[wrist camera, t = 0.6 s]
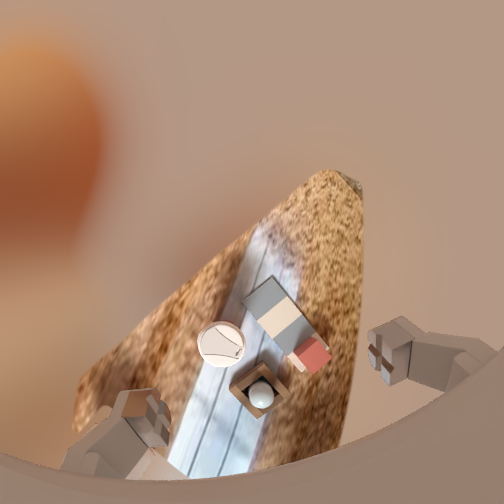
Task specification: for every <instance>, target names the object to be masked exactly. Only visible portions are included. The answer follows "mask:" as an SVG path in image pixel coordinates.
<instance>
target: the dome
mask: <svg viewBox="0 0 504 504" xmlns="http://www.w3.org/2000/svg"><path fill="white" fill-rule="evenodd" d="M248 393H249V399H250V402H251V404H252V405H253V406H255V407H257V408H267V407H269V406H270V405H271V404H272V403H273V400H274V393H273V391H272V388H271V386H270V384H269V383H268V382H266V381H264V380H257V381H254V382H253V383H252V384H250V386H249V388H248Z"/></svg>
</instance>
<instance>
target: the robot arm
mask: <svg viewBox="0 0 504 504" xmlns="http://www.w3.org/2000/svg"><path fill="white" fill-rule="evenodd" d="M368 340H369V341H370V342H371V344H370V346H369V348H368V356H369V360H370V362H371V364H372V366H373V368H374V369H375V370H378V371H381V377H382V379H383V380H384V381H385V382H386V383H387V385H388V386H391V385H394V384H396V383H398V382H400V381H402V380H404V379H406V378H408V379H410V380H413V381H415V382H418V383H421V384H423V385H426V386H429V387H432V388H434V389H437V390H440V391H443V392H445V393H444V394H443V395H441V396H439V397H438V398H436V399H435V400H433V401H432V402H430V403H428V404H427V405H425V406H423V407H422V408H420V409H418V410H417V411H415V412H413V413H411V414H410V415H408V416H406V417H404V418H402V419H401V420H399V421H397V422H395V423H393V424H391V425H389V426H387V427H385V428H383V429H380V430H378V431H376V432H374V433H372V434H370V435H367V436H365V437H363V438H361V439H358V440H356V441H353V442H351V443H348V444H346V445H343V446H341V447H338V448H335V449H333V450H330V451H327V452H324V453H321V454H318V455H315V456H312V457H309V458H305V459H302V460H299V461H295V462H291V463H288V464H284V465H280V466H276V467H272V468H267V469H262V470H258V471H253V472H247V473H241V474H235V475H228V476H221V477H212V478H202V479H189V480H165V481H164V480H129V479H125V478H126V477H127V476H128V475H129V473H130V472H131V471H132V469H133V468H134V467H135V466H136V464H137V463H138V462H139V460H140V459H141V458H142V457H143V455H144V454H145V453H146V451H147V450H148V448H152V447H165V446H168V443H169V435H170V433H169V432H168V430H167V429H168V427H169V426H170V425H171V413H170V410H169V408H168V406H167V404H166V403H165V402H163V401H162V400H160V397H161V394H160V393H159V391H158V389H156V388H146V389H135V390H125V391H121V392H119V394H118V396H117V399H116V401H115V404H114V407H113V409H112V412H111V414H110V417H109V418H107V419H105V420H104V421H102V422H101V423H100V424H99V425H97V426H96V427H95V428H94V429H92V430H91V431H90V432H89V433H88V434H86V435H85V436H84V437H83V438H81V439H80V440H79V441H78V442H76V443H75V444H74V445H73V446H72V447H70V448H69V449H68V451H67V454H66V456H65V459H64V461H63V464H62V466H61V469H60V470H58V469H54V468H50V467H46V466H42V465H39V464H35V463H32V462H29V461H25V460H22V459H19V458H17V457H13V456H11V455H8V454H5V453H0V504H504V346H503V347H502V348H501V349H500V350H499V351H498V352H497V351H495V350H494V349H493V348H491V347H490V346H489V345H487V344H486V343H484V342H483V341H481V340H480V339H477V338H468V337H461V336H453V335H446V334H439V333H432V332H428V333H425V332H423V331H422V330H421V329H419V328H418V327H417V326H416V325H414V324H413V323H412V322H410V321H409V320H408V319H406V318H405V317H403V316H400V317H398V318H396V319H394V320H391V321H390V322H388V323H385V324H383V325H381V326H378V327H376V328H374V329H372V330H369V332H368Z"/></svg>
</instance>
